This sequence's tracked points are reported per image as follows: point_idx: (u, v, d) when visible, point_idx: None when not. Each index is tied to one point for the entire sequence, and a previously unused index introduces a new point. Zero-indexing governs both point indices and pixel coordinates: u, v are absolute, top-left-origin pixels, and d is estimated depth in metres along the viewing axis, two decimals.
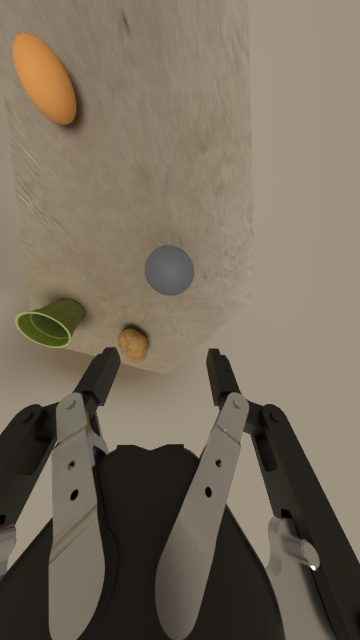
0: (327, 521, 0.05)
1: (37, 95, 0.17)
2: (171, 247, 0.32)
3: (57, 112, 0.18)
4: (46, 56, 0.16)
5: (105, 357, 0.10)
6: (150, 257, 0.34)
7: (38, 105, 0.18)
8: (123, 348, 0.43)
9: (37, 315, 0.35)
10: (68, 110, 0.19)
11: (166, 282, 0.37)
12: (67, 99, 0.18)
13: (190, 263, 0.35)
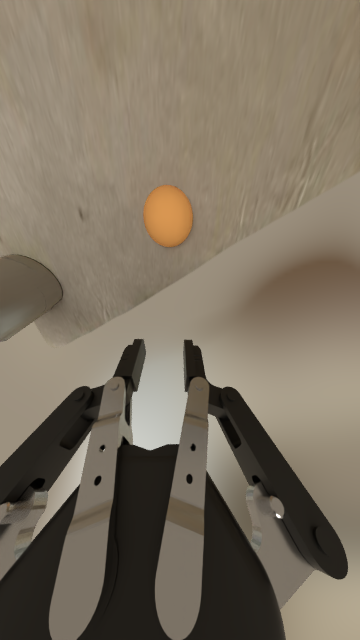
0: (281, 469, 0.06)
1: (179, 205, 0.14)
2: None
3: (172, 188, 0.14)
4: (147, 217, 0.15)
5: (136, 347, 0.11)
6: None
7: (188, 206, 0.15)
8: None
9: None
10: (160, 186, 0.14)
11: None
12: (153, 190, 0.14)
13: None
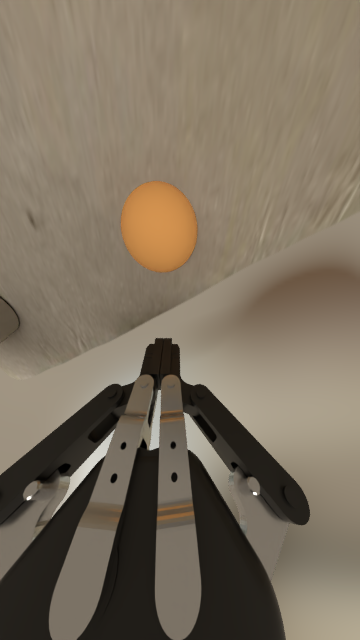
0: (252, 447, 0.06)
1: (178, 215, 0.08)
2: None
3: (167, 186, 0.08)
4: (126, 232, 0.09)
5: (159, 346, 0.11)
6: None
7: (192, 217, 0.09)
8: None
9: None
10: (147, 182, 0.09)
11: None
12: (135, 189, 0.09)
13: None
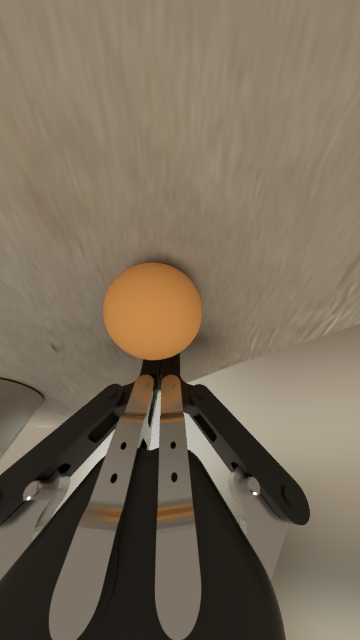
0: (252, 447, 0.06)
1: None
2: None
3: None
4: None
5: None
6: None
7: None
8: None
9: None
10: None
11: None
12: None
13: None
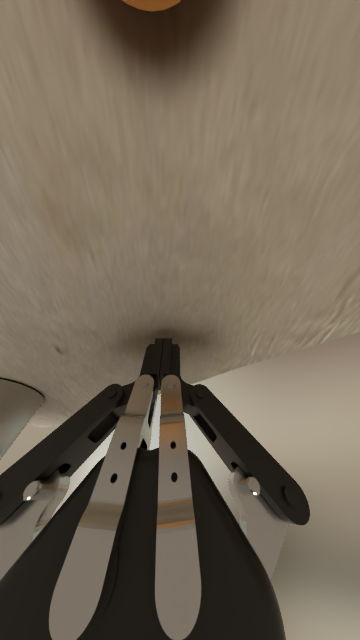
0: (252, 447, 0.06)
1: None
2: None
3: None
4: None
5: (159, 346, 0.11)
6: None
7: None
8: None
9: None
10: None
11: None
12: None
13: None
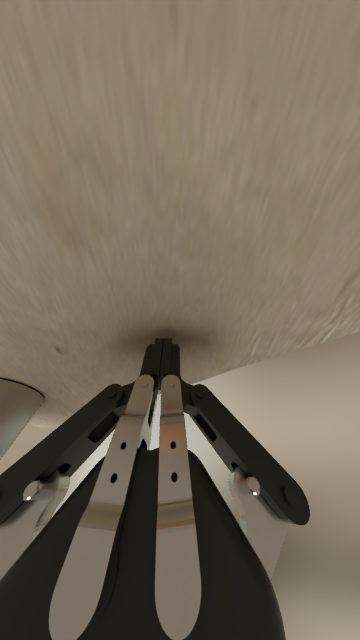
0: (252, 447, 0.06)
1: None
2: None
3: None
4: None
5: (159, 346, 0.11)
6: None
7: None
8: None
9: None
10: None
11: None
12: None
13: None
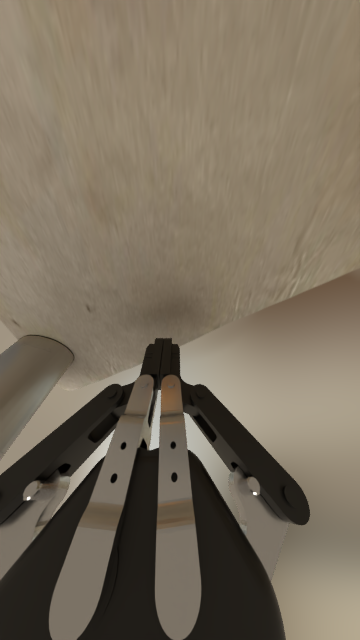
0: (252, 447, 0.06)
1: None
2: None
3: None
4: None
5: (159, 346, 0.11)
6: None
7: None
8: None
9: None
10: None
11: None
12: None
13: None
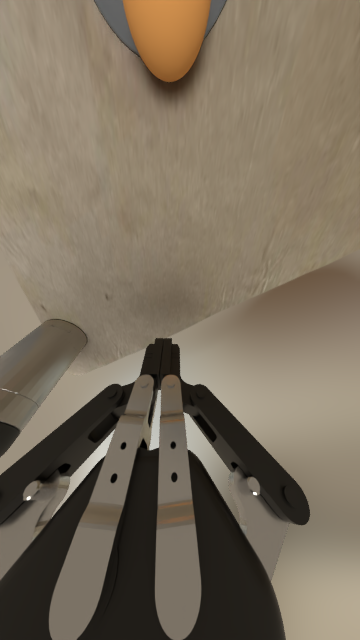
0: (252, 447, 0.06)
1: None
2: (113, 23, 0.11)
3: None
4: None
5: (159, 346, 0.11)
6: None
7: None
8: None
9: None
10: None
11: None
12: None
13: None
